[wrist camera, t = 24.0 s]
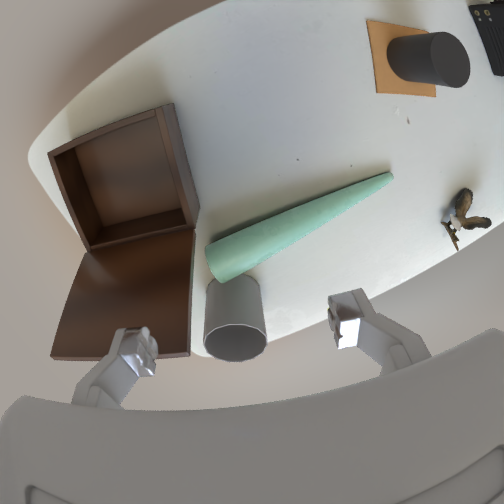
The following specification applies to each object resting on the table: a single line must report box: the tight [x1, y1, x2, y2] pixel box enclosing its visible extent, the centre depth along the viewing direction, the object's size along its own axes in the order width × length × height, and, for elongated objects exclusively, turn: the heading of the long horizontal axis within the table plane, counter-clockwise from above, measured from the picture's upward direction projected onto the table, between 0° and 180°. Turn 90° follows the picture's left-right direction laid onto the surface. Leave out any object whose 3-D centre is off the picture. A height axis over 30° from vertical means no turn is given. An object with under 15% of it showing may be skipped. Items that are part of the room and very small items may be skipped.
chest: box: [47, 103, 200, 252], centre depth 28 cm, size 14×15×6 cm
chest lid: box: [50, 229, 196, 361], centre depth 24 cm, size 14×15×1 cm
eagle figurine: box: [441, 189, 492, 251], centre depth 35 cm, size 8×7×9 cm
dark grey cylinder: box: [387, 32, 470, 88], centre depth 20 cm, size 6×6×9 cm
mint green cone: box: [205, 172, 394, 283], centre depth 34 cm, size 5×6×27 cm
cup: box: [203, 274, 268, 362], centre depth 39 cm, size 8×8×10 cm
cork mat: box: [366, 20, 436, 97], centre depth 24 cm, size 10×10×1 cm
